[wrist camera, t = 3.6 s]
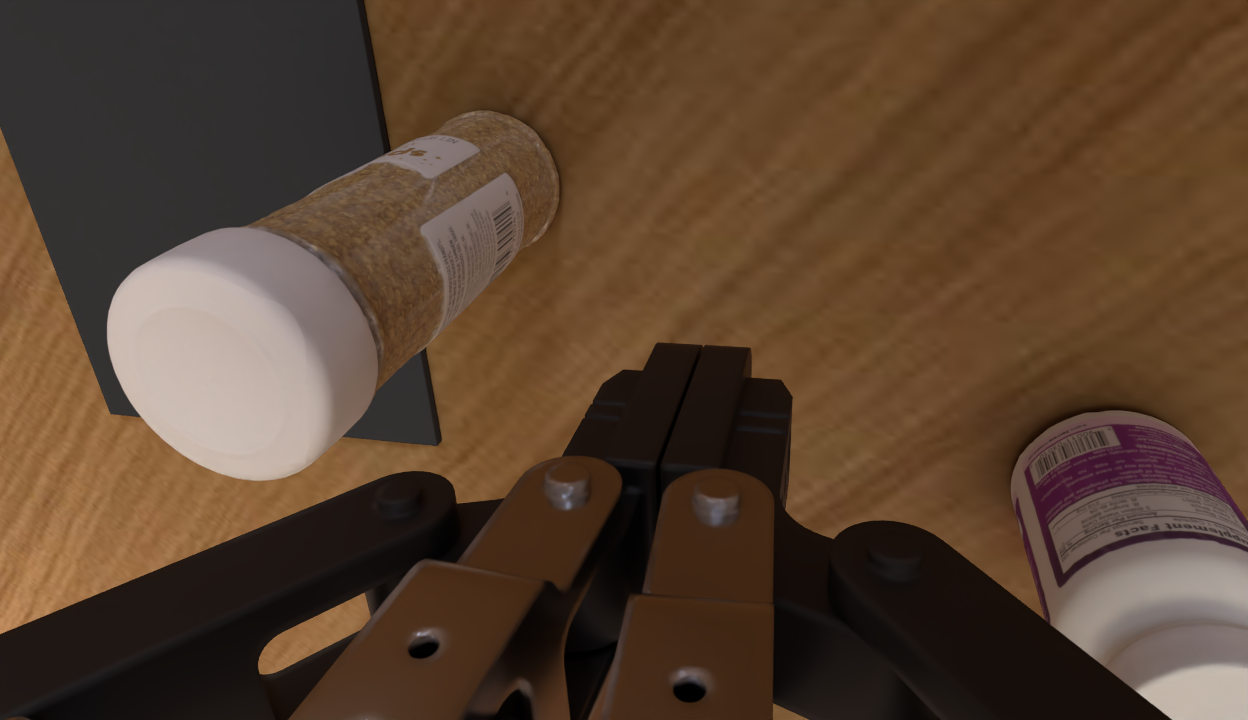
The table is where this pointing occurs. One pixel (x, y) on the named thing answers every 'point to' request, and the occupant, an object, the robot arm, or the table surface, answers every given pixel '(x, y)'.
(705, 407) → the robot arm
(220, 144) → the mat
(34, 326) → the table surface
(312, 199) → the sprinkles bottle
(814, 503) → the table surface
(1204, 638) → the pill bottle
